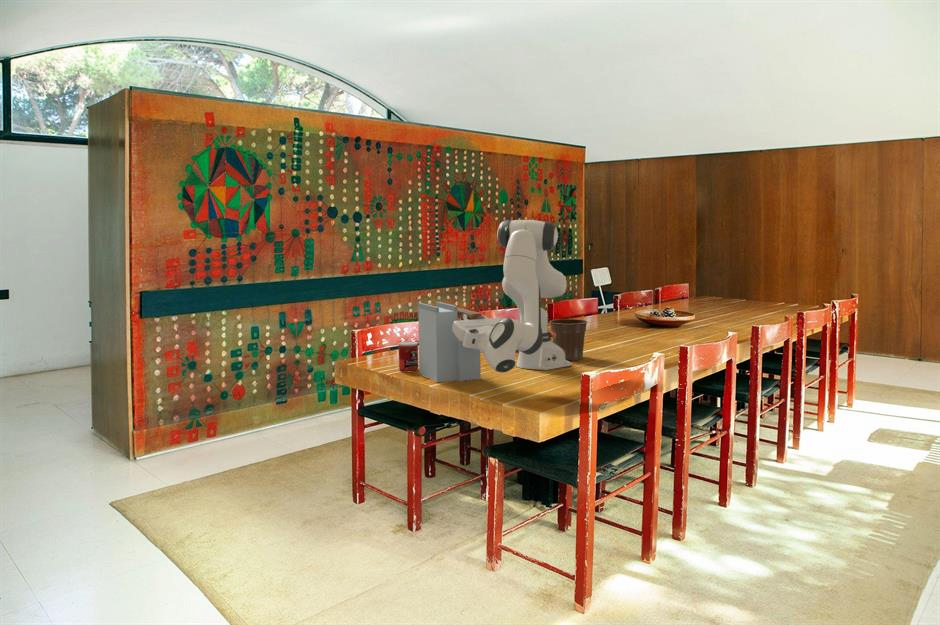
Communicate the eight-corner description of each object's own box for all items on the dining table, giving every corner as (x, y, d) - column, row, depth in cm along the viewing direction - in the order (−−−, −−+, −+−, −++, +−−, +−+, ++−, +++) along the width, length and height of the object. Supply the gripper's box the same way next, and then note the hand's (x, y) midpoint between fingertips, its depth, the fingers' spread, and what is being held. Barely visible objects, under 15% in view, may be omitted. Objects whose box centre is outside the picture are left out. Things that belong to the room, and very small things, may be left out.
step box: (459, 369, 285) (458, 300, 281) (480, 378, 268) (480, 305, 264) (419, 373, 277) (418, 303, 274) (439, 383, 260) (437, 308, 257)
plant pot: (541, 357, 309) (541, 320, 307) (568, 353, 319) (568, 317, 317) (567, 363, 296) (568, 324, 294) (594, 358, 306) (595, 321, 304)
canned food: (405, 372, 280) (405, 345, 278) (395, 369, 286) (394, 342, 285) (422, 370, 284) (421, 343, 283) (411, 367, 290) (411, 340, 289)
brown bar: (456, 313, 279) (456, 307, 278) (482, 320, 259) (482, 313, 259) (445, 314, 277) (445, 308, 276) (471, 321, 257) (471, 314, 257)
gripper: (515, 329, 254) (498, 306, 264) (463, 333, 245) (448, 309, 255) (510, 342, 258) (494, 320, 268) (459, 347, 249) (445, 323, 259)
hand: (471, 315), depth 261 cm, fingers closed on brown bar, 4 cm apart
